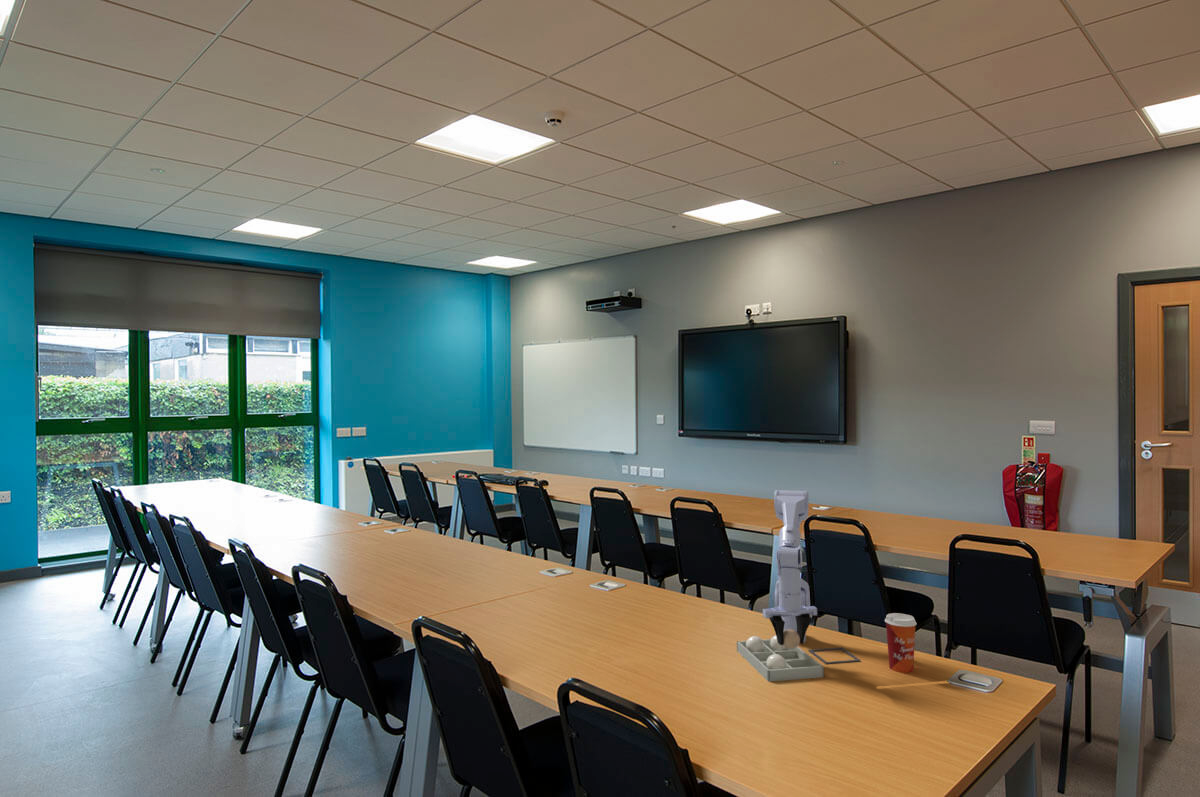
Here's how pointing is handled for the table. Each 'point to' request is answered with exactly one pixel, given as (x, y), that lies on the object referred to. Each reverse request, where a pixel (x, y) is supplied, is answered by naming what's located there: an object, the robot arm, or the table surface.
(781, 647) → the white egg
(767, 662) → the white egg
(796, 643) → the beige ball
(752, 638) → the white egg
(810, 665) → the tray
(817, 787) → the table surface
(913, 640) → the paper cup
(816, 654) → the coaster
